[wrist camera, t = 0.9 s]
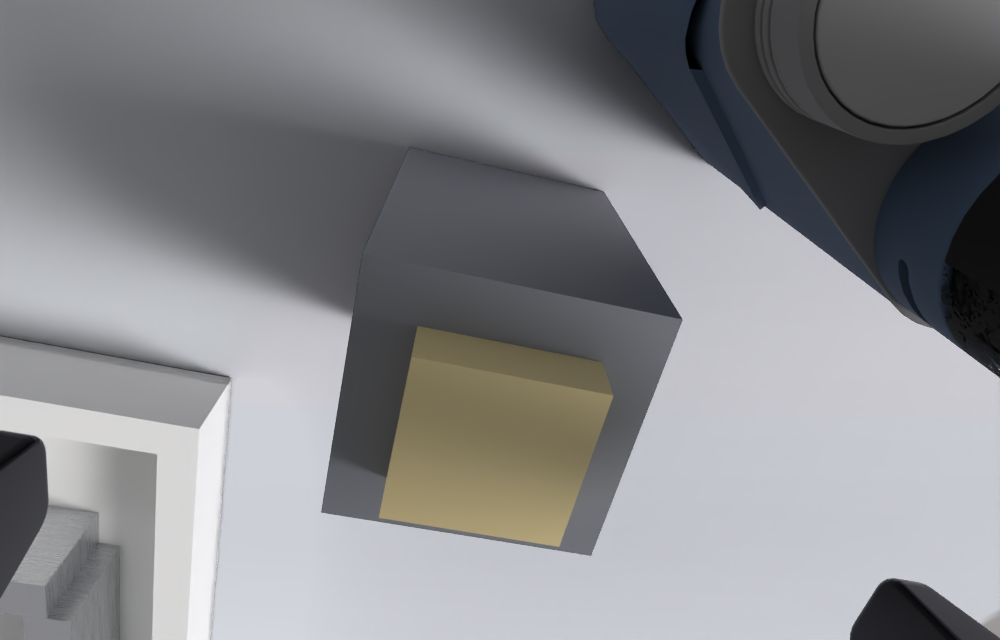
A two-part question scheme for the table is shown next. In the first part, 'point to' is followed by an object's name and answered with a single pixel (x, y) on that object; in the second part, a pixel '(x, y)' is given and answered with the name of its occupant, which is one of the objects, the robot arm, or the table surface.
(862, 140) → the vaping device
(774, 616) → the table surface
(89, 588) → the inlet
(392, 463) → the block
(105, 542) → the walled tray
